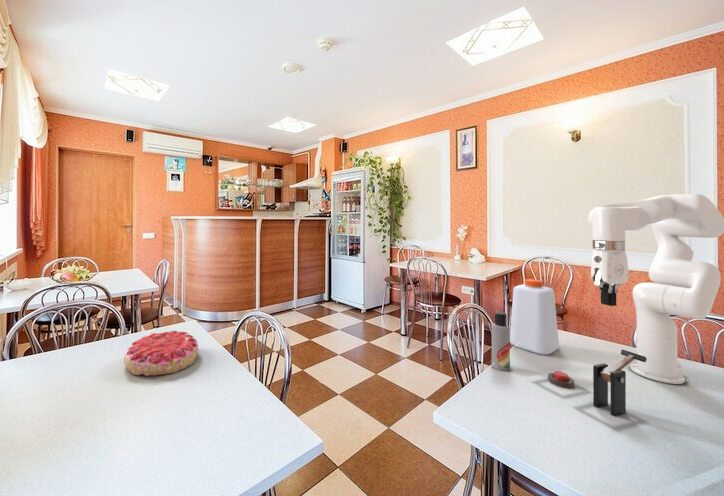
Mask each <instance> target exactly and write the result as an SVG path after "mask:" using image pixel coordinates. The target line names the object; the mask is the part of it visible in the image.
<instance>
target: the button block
mask: <svg viewBox="0 0 724 496" xmlns="http://www.w3.org/2000/svg"><path fill="white" fill-rule="evenodd" d="M547 381H548V382H549V383H550V384H552V385H554V386H556V387H560V388H562V389H574V388H575V379H574V378H572V377H571V376H568V381H561V380H558V379H555V378H554V372H549V373H548V374H547Z"/></svg>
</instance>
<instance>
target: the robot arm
mask: <svg viewBox="0 0 724 496" xmlns="http://www.w3.org/2000/svg"><path fill="white" fill-rule="evenodd" d="M587 222H588V224H589V225H590V227H592V229H591V230H592V231H591V232H592V234H591V235H592V239H591V240H592V241H591V242H592V243H591V244H592V245H591V247H592V249H591V251H592V255H591V261H590V278H591V281H592V282H594V287H597V288H599V292H600V304H601V305H604V306H610V307H616V306H617V293H618V290H619V287H620V286H622V285H623V284H627V283H628V282H629V280H630V279H629V277H630V276H629V274H630V273H629V264H628V257H627V253H626V231H640V230H643V229H644V228H646V227H647V226H648V225H651V229H652V232H653V236H654V238H655V241H656V244H657V250H656V253H655V255H654V257H653V260H652V262H651V264H650V267H649V269H648V278H649V280H651V282H640V283H638V284H635V286H633V288H632V299H633V304H634V307H635V314H636V315H635V316H636V354H638V355H641V356H645V357H646V359H647V360H646V362H642V361H639V360H636V362H635V363H630V370H631V371H632V372H634V373H635V374H637V375H639V376H641V377H643V378H646V379H650V380H653V381H655V382H656V381H657V382H660V383H665V384H672V385H682V384H684V383H686V379H685V377H684V376H683V375H682V374H681V373H679V372H678V371H679V370H678V369H680V368H682V366H683V365H682V363H681V362H680V361H678V360H679V359H678V353H679V352H678V326H677V324H676V322H675V321H674V319H673V318H672V317H671V316H672V315H673V316H678V317H682V318H687V319H694V320H704V319H706V318H707V317H708V316H709V314H710V313H711V310H712V308H713V306H714V303H715V300H716V297H717V294H718V292H719V288H720V285H721V280H722V277H721V272H720V270H719V268H718V267H717V266H715V265H714V264H712V263H709V262H704V261H696V260H693V258H694V251H693V249H692V248H691V246H689V245H688V244H687V243H686V242H684V241H683V240H682V239H681V238H683V237H684V238H702V239H703V238H704V239H705V238H706V239H713V238H718V237H721V236H723V234H724V216H723V215H722V213H721V212H720V211H719V210H718V208H717V206H716V205H715V204H714V202H713V201H711V200H710V199H709V198H708V197H707V196H706V195H703V194H700V193H683V194H682V193H679V194H664V195H663V194H662V195H657V196H652V197H648V198H644V199H638V200H632V201H631V200H630V201H625V202H619V203H611V204H604V205H600V206H596V207H594V208H593V209H591V210H590V212H589V213H588V216H587ZM670 315H671V316H670Z"/></svg>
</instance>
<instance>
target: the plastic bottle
mask: <svg viewBox="0 0 724 496" xmlns="http://www.w3.org/2000/svg"><path fill="white" fill-rule="evenodd" d="M555 296H556V295H555V290H554V289H553V288H552V287H549V286H544V285H543V281H542V280H540V279H534V278H526V279H525V280H524V283H522V284H519V285H516V286H514V287H513V290H512V305H511V317H510V326H509V327H510V345H512V346H513V347H516V348H518V349H521V350H525V351H527V352H531V353H534V354H539V355H548V356H549V355H551V354H553V353H554V352H556V351H557V350H559V349H560V343H559V342H560V341H559V332H558V331H559V330H558V318H557V309H556V298H555ZM519 342H520V343H519ZM518 343H519V344H518ZM516 344H518V345H517V346H515V345H516Z"/></svg>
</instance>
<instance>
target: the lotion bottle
mask: <svg viewBox="0 0 724 496" xmlns="http://www.w3.org/2000/svg"><path fill="white" fill-rule="evenodd" d="M510 327H511V326H509V324H508V315H507V312H505V311H495V312H494V323H491V366H492V367H493V368H494V369H495V370H498V371H505V372H506V371H509V370H511V343H510ZM493 363H494V364H493ZM492 364H493V365H492Z"/></svg>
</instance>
